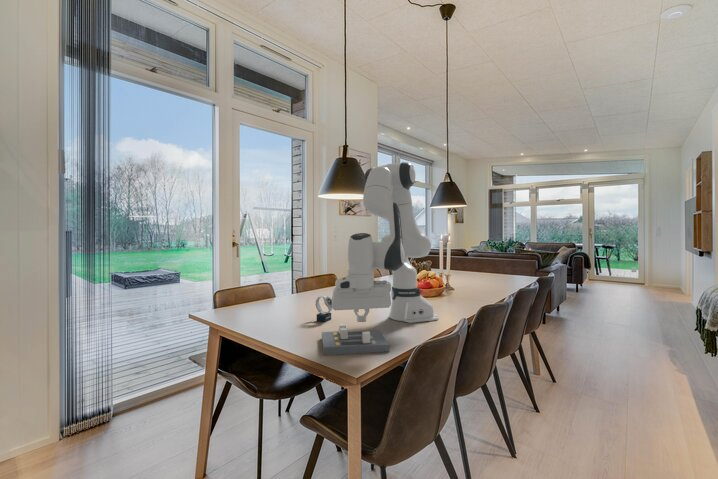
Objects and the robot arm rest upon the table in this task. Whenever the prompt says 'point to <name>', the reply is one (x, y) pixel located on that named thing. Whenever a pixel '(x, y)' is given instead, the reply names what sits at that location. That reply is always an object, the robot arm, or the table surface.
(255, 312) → the table surface
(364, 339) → the breaker handle
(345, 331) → the breaker handle middle
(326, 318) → the watch
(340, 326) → the breaker handle far
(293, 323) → the table surface
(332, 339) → the breaker panel
